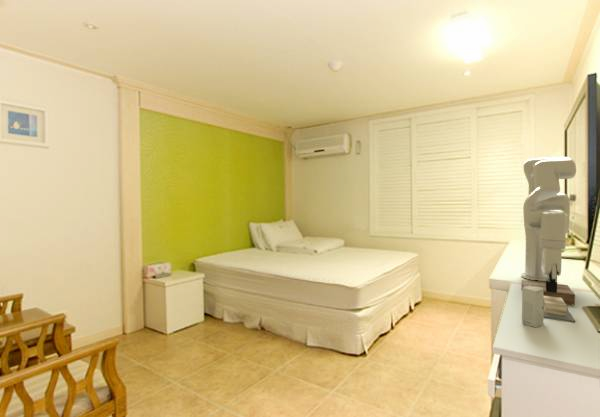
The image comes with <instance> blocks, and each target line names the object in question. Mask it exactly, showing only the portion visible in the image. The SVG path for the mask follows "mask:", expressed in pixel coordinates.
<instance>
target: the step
mask: <svg viewBox="0 0 600 417" xmlns="http://www.w3.org/2000/svg"><path fill="white" fill-rule="evenodd" d="M526 286H536V287H541V288H544V291H543V295H544V296H551V297H559V298H562V299H563V301H564V302H565V304H566V305H574V306H575V302H576V298H575V297H576V294H575V293H574V292H573V290H572V289H571V288H570V286H569V285H568V284H560V283H557V292H556V293H555V292H547V291H546V282H544V281H534V280H524V279H523V280H521V288H520V289H521V290H522V288H524V287H526Z"/></svg>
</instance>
